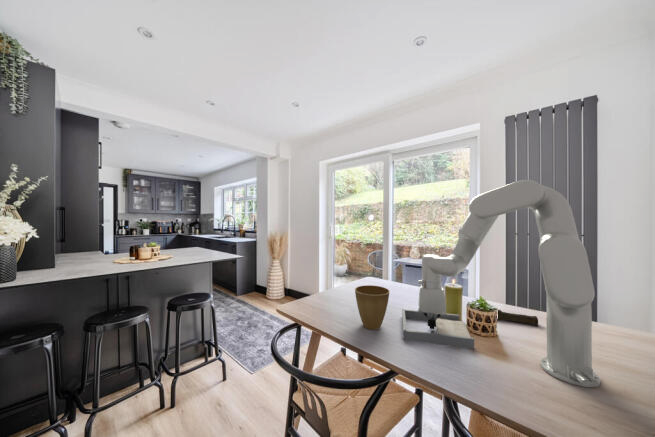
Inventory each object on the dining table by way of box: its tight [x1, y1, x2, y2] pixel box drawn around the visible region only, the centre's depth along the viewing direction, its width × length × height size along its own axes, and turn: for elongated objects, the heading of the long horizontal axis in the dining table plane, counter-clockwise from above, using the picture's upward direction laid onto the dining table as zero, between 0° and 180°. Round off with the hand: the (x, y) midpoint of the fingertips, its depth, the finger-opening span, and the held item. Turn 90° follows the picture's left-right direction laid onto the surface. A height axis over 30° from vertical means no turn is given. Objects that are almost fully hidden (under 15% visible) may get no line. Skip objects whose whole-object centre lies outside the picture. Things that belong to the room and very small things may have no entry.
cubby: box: [401, 309, 475, 350], centre depth 99 cm, size 22×24×4 cm
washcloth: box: [435, 318, 472, 338], centre depth 97 cm, size 12×18×3 cm, turn 160°
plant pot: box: [354, 284, 390, 331], centre depth 104 cm, size 15×15×16 cm
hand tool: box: [497, 309, 539, 327], centre depth 108 cm, size 19×4×5 cm, turn 60°
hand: (431, 327), depth 99 cm, fingers closed
